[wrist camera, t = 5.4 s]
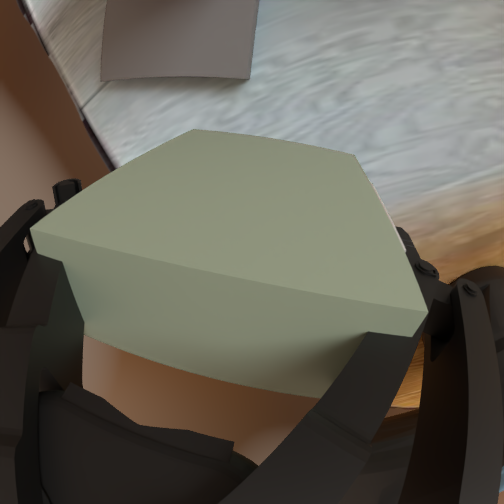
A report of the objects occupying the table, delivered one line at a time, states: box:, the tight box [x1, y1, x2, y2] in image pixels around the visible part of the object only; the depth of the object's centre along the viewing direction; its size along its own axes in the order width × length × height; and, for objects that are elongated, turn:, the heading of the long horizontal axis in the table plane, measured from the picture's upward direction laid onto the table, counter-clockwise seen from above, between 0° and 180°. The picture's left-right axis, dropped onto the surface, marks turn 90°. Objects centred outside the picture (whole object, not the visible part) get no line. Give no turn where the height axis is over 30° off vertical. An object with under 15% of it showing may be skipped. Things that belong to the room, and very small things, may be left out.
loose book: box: [30, 129, 428, 398], centre depth 12 cm, size 4×10×13 cm, turn 84°
